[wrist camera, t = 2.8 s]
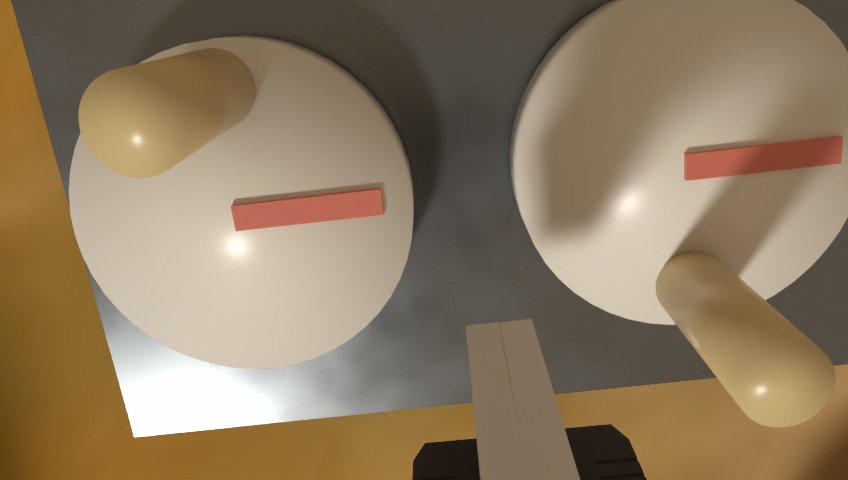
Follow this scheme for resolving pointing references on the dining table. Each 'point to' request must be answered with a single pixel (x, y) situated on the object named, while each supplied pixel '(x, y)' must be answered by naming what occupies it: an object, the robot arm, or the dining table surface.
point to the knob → (241, 200)
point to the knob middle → (694, 178)
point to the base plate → (433, 208)
